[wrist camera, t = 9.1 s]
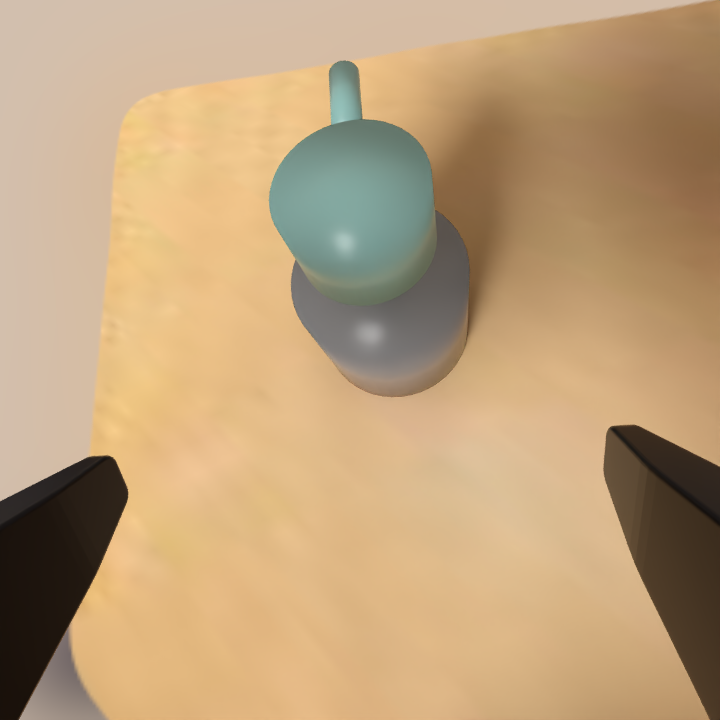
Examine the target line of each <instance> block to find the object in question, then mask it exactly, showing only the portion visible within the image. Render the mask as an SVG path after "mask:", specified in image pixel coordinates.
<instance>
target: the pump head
mask: <svg viewBox="0 0 720 720" xmlns="http://www.w3.org/2000/svg"><path fill="white" fill-rule="evenodd" d="M329 87H330V107H331V125H330V126H327V127H324V128H322V129H320V130H318V131H316V132H314V133H313V134H311V135H309V136H308V137H306V138H305V139H304V140H302V141H301V142H300V143H298V144H297V145H296V146H295V147H294V148H293V149H292V150H291V151H290V152H289V153H288V155H287V156H286V157H285V158H284V160H283V161H282V163H281V164H280V165H279V167H278V169H277V171H276V173H275V175H274V178H273V181H272V184H271V188H270V195H269V206H270V213H271V217H272V220H273V222H274V225H275V227H276V228H277V230H278V232H279V233H280V235H281V236H282V238H283V240H284V241H285V243H286V244H287V246H288V248H289V249H290V251H291V252H292V254H293V256H294V257H295V259H296V261H297V262H298V264H299V265H300V267H301V269H302V270H303V272H304V273H305V275H306V277H307V278H308V280H309V281H310V283H311V284H312V285H313V286H314V287H315V288H316V289H317V290H318V291H319V292H320V293H321V294H323V295H324V296H326V297H327V298H329V299H332V300H334V301H336V302H339V303H343V304H347V305H354V306H367V305H374V304H379V303H383V302H386V301H389V300H392V299H394V298H396V297H398V296H400V295H401V294H403V293H405V292H406V291H408V290H409V289H410V288H411V287H413V286H414V285H415V284H416V283H417V282H418V281H419V280H420V279H421V278H422V276H423V275H424V274H425V273H426V271H427V269H428V268H429V266H430V264H431V262H432V260H433V257H434V254H435V250H436V244H437V230H436V218H435V206H434V194H433V182H432V171H431V166H430V162H429V159H428V157H427V154H426V152H425V151H424V149H423V147H422V146H421V145H420V143H419V142H418V141H417V140H416V139H415V138H414V137H413V136H412V135H410V134H409V133H408V132H406V131H405V130H403V129H402V128H399V127H397V126H395V125H393V124H389V123H386V122H382V121H377V120H366V119H362V106H361V92H360V79H359V70H358V68H357V66H356V65H355V64H353V63H352V62H349V61H339V62H337V63H335V64H334V65H333V66H332V67H331V68H330V71H329Z"/></svg>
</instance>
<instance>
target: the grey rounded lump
mask: <svg viewBox="0 0 720 720" xmlns="http://www.w3.org/2000/svg"><path fill="white" fill-rule="evenodd" d="M435 218H436V230H437V244H436V250H435V254H434V257H433V260H432V262H431V264H430V266H429V268H428V269H427V271H426V273H425V274H424V275H423V276H422V278H421V279H420V280H419V281H418V282H417V283H416V284H415V285H414V286H413V287H411V288H410V289H409V290H408V291H406V292H405V293H403V294H401V295H400V296H398V297H396V298H394V299H392V300H389V301H386V302H383V303H379V304H374V305H367V306H354V305H347V304H343V303H339V302H336V301H334V300H332V299H329V298H327V297H326V296H324V295H323V294H321V293H320V292H319V291H318V290H317V289H316V288H315V287H314V286H313V285H312V284H311V283H310V281H309V280H308V278H307V277H306V275H305V273H304V272H303V270H302V269H301V267H300V265H299V264H298V262H297V261H296V260H295V263H294V266H293V272H292V278H291V292H292V299H293V304H294V307H295V310H296V312H297V315H298V317H299V319H300V320H301V322H302V324H303V325H304V327H305V328H306V329H307V330H308V332H309V333H310V334H311V335H312V337H313V338H314V339H315V341H316V342H317V343H318V344H319V346H320V347H321V348H322V349H323V351H324V352H325V353H326V354H327V356H328V357H329V358H330V360H331V361H332V362H333V363H334V365H335V366H336V367H337V368H338V370H339V371H340V372H341V373H342V375H343V376H344V377H345V378H346V379H347V380H348V381H349V382H351V383H352V384H354V385H355V386H356V387H358V388H360V389H362V390H364V391H366V392H369V393H372V394H375V395H380V396H387V397H402V396H408V395H413V394H416V393H419V392H422V391H424V390H426V389H428V388H430V387H432V386H434V385H435V384H437V383H438V382H440V381H441V380H442V379H443V378H445V377H446V376H447V375H448V374H449V372H450V371H451V370H452V369H453V368H454V366H455V365H456V364H457V362H458V360H459V358H460V357H461V355H462V352H463V350H464V347H465V343H466V339H467V329H468V301H469V271H470V270H469V259H468V254H467V250H466V247H465V245H464V242H463V240H462V238H461V236H460V235H459V233H458V231H457V230H456V228H455V227H454V226H453V225H452V224H451V222H450V221H449V220H447V219H446V218H445V217H444V216H443V215H442V214H440V213H439V212H438V211H436V210H435Z"/></svg>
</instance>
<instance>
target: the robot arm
mask: <svg viewBox="0 0 720 720" xmlns="http://www.w3.org/2000/svg"><path fill="white" fill-rule="evenodd" d="M604 477H605V481H606V484H607V487H608V490H609V492H610V495H611V498H612V501H613V504H614V507H615V510H616V512H617V515H618V518H619V521H620V524H621V527H622V530H623V532H624V535H625V538H626V541H627V544H628V547H629V550H630V552H631V555H632V558H633V560H634V563H635V565H636V567H637V570H638V572H639V574H640V576H641V579H642V581H643V583H644V585H645V587H646V589H647V591H648V593H649V595H650V597H651V599H652V601H653V603H654V605H655V607H656V609H657V611H658V614H659V616H660V618H661V620H662V622H663V624H664V626H665V628H666V630H667V632H668V634H669V636H670V638H671V640H672V642H673V644H674V646H675V648H676V650H677V653H678V655H679V657H680V659H681V661H682V663H683V665H684V667H685V669H686V671H687V673H688V675H689V677H690V679H691V681H692V683H693V685H694V687H695V690H696V692H697V694H698V696H699V698H700V700H701V702H702V704H703V706H704V708H705V710H706V712H707V714H708V716H709V718H710V720H720V467H719V466H717V465H715V464H713V463H711V462H709V461H707V460H705V459H703V458H701V457H699V456H697V455H695V454H693V453H691V452H689V451H687V450H685V449H683V448H681V447H679V446H677V445H675V444H673V443H671V442H669V441H667V440H665V439H663V438H661V437H659V436H657V435H655V434H653V433H651V432H649V431H647V430H645V429H644V428H642V427H639V426H637V425H620V426H611V427H610V428H609V429H608V431H607V434H606V444H605V455H604ZM127 500H128V489H127V486H126V484H125V481H124V479H123V477H122V474H121V472H120V470H119V467H118V465H117V463H116V461H115V459H114V458H113V457H111V456H108V455H106V456H91V457H87V458H85V459H83V460H81V461H79V462H78V463H75V464H73V465H71V466H69V467H67V468H65V469H63V470H61V471H59V472H57V473H55V474H53V475H52V476H50V477H48V478H46V479H44V480H42V481H40V482H38V483H36V484H34V485H32V486H30V487H28V488H26V489H24V490H22V491H20V492H18V493H16V494H14V495H12V496H10V497H8V498H6V499H4V500H2V501H0V720H19V719H20V717H21V715H22V713H23V711H24V709H25V707H26V705H27V704H28V702H29V700H30V698H31V696H32V694H33V692H34V690H35V689H36V687H37V685H38V683H39V681H40V679H41V677H42V676H43V673H44V672H45V670H46V668H47V666H48V664H49V662H50V660H51V659H52V657H53V655H54V653H55V651H56V649H57V647H58V646H59V643H60V642H61V640H62V638H63V636H64V634H65V632H66V631H67V629H68V627H69V625H70V623H71V621H72V619H73V617H74V616H75V614H76V612H77V610H78V608H79V606H80V604H81V603H82V601H83V599H84V597H85V595H86V593H87V591H88V589H89V588H90V586H91V584H92V582H93V580H94V578H95V576H96V574H97V571H98V569H99V567H100V565H101V563H102V560H103V558H104V555H105V553H106V551H107V548H108V546H109V544H110V541H111V539H112V536H113V534H114V532H115V529H116V527H117V525H118V522H119V520H120V517H121V515H122V513H123V510H124V508H125V506H126V503H127Z"/></svg>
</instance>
